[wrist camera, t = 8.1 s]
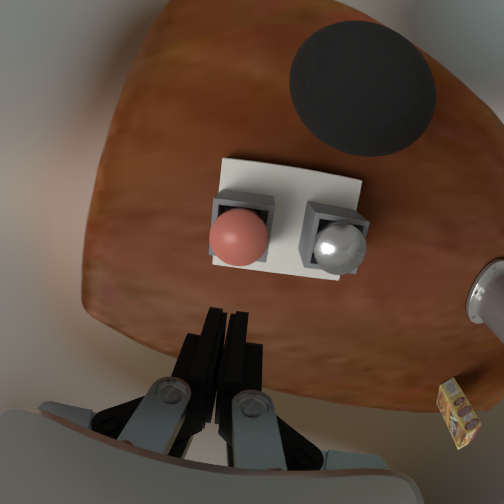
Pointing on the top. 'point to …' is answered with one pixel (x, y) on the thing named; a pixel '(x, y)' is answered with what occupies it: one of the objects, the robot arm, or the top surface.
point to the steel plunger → (338, 247)
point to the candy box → (457, 413)
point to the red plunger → (239, 236)
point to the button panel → (288, 210)
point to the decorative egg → (362, 88)
